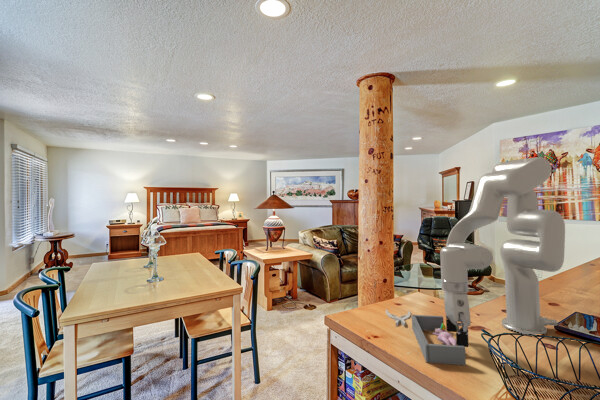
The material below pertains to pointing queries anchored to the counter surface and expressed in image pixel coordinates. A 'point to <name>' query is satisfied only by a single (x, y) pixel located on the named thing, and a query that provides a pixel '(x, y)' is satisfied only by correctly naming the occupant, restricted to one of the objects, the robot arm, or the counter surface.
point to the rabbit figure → (444, 336)
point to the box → (436, 351)
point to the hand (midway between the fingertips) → (456, 338)
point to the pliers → (399, 318)
